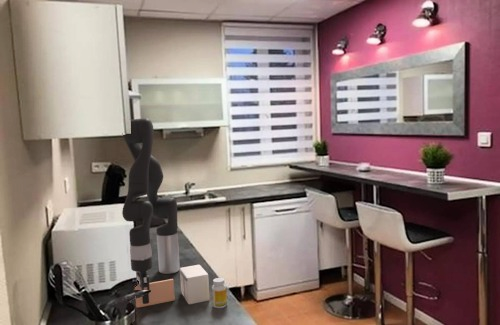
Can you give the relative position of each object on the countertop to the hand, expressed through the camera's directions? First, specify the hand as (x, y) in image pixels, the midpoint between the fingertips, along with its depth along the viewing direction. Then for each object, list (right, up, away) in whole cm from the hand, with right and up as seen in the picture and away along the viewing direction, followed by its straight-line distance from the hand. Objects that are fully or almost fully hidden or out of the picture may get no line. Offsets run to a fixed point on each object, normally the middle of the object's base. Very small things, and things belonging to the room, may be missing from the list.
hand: (144, 298), depth 155 cm
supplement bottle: (+28, -2, -1) cm, 28 cm away
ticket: (+4, -2, +2) cm, 5 cm away
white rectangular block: (+18, -1, +7) cm, 19 cm away
